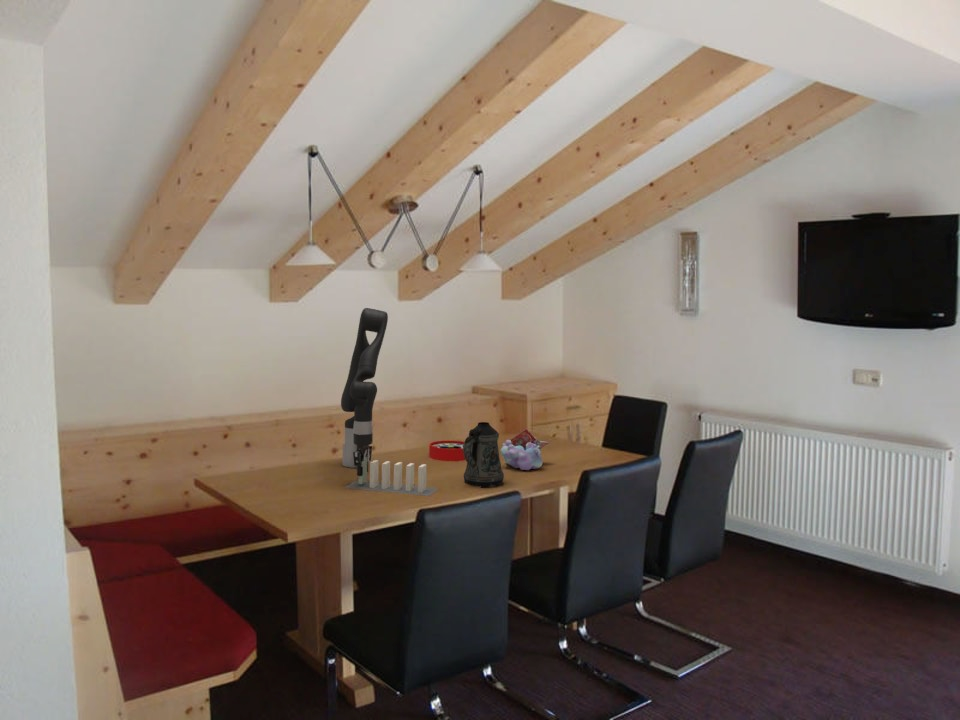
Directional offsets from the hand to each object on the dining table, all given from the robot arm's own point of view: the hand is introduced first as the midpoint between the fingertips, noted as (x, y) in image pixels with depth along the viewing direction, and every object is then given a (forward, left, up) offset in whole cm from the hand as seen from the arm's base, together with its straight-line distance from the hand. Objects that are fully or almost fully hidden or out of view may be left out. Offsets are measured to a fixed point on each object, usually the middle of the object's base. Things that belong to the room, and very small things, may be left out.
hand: (362, 474), depth 323 cm
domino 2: (+5, 0, -5) cm, 7 cm away
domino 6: (+25, 0, -4) cm, 25 cm away
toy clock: (+17, +66, -6) cm, 68 cm away
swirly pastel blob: (+53, +57, -5) cm, 78 cm away
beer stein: (+44, +21, -5) cm, 49 cm away
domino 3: (+10, 0, -5) cm, 11 cm away
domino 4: (+15, 0, -4) cm, 16 cm away
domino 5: (+20, 0, -4) cm, 20 cm away
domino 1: (0, 0, -3) cm, 3 cm away
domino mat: (+12, 0, -5) cm, 13 cm away
